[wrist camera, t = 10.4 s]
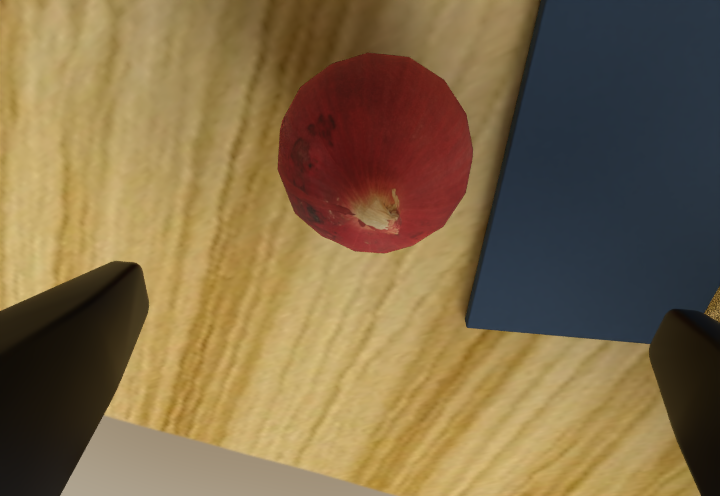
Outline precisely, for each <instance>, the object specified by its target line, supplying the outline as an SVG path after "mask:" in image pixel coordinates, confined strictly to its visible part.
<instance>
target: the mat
mask: <svg viewBox="0 0 720 496" xmlns="http://www.w3.org/2000/svg"><path fill="white" fill-rule="evenodd" d="M719 286H720V0H541V2H540V6H539V11H538V15H537V19H536V23H535V27H534V32H533V36H532V40H531V44H530V48H529V53H528V57H527V61H526V65H525V69H524V74H523V78H522V82H521V86H520V90H519V95H518V99H517V103H516V107H515V111H514V116H513V120H512V124H511V128H510V132H509V137H508V141H507V145H506V149H505V153H504V158H503V162H502V166H501V170H500V174H499V179H498V183H497V187H496V191H495V195H494V200H493V204H492V208H491V212H490V216H489V221H488V225H487V229H486V233H485V237H484V242H483V246H482V250H481V254H480V258H479V263H478V267H477V271H476V275H475V280H474V284H473V288H472V292H471V296H470V301H469V305H468V309H467V313H466V317H465V322H466V327H467V328H477V329H488V330H499V331H510V332H521V333H533V334H544V335H555V336H566V337H578V338H589V339H600V340H611V341H623V342H634V343H645V344H651V342H652V340H653V338H654V336H655V334H656V332H657V330H658V328H659V326H660V324H661V322H662V320H663V318H664V316H665V314H666V313H667V312H668V311H669V310H672V309H686V310H696V311H699V312H702V313H703V314H704V312H705V311H706V309H707V307H708V305H709V304H710V302H711V300H712V298H713V297H714V295H715V293H716V291H717V290H718V288H719Z"/></svg>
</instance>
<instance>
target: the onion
mask: <svg viewBox="0 0 720 496" xmlns="http://www.w3.org/2000/svg"><path fill="white" fill-rule="evenodd" d="M472 158H473V147H472V142H471V136H470V131H469V126H468V120H467V115H466V113H465V111H464V110H463V108H462V106H461V105H460V103H459V102H458V100H457V99H456V97H455V96H454V94H453V93H452V91H451V90H450V88H449V87H448V85H447V83H446V82H445V80H443V79H442V78H440V77H439V76H437V75H436V74H434V73H433V72H431V71H430V70H428V69H427V68H425V67H424V66H422V65H420V64H419V63H417V62H416V61H414V60H413V59H411V58H410V57H404V56H395V55H385V54H376V53H365V54H362V55H359V56H355V57H352V58H349V59H346V60H342V61H338V62H335V63H333V64H330V65H329V66H328V67H326V68H325V69H324V70H322V71H321V72H320V73H318V74H317V75H316V76H314V77H313V78H312V79H310V80H309V81H308V82H306V83H305V84H304V85H302V86H301V87H300V89H299V91H298V92H297V94H296V96H295V98H294V100H293V102H292V104H291V105H290V107H289V109H288V111H287V113H286V115H285V116H284V118H283V120H282V124H281V128H280V139H279V155H278V172H279V174H280V177H281V179H282V182H283V184H284V187H285V189H286V192H287V195H288V197H289V200H290V202H291V205H292V207H293V210H294V212H295V214H296V215H298V216H299V217H300V218H301V219H302V220H303V221H305V222H306V223H307V224H308V225H309V226H311V227H312V228H313V229H314V230H315V231H316V232H318V233H319V234H320V235H321V236H323V237H325V238H328V239H330V240H333V241H335V242H337V243H339V244H341V245H343V246H345V247H347V248H349V249H351V250H353V251H359V252H373V253H388V252H391V251H395V250H399V249H402V248H406V247H409V246H413V245H415V244H416V243H418V242H419V241H421V240H422V239H424V238H425V237H427V236H428V235H430V234H432V233H433V232H435V231H437V230H438V229H440V228H442V227H443V226H444V225H445V223H446V222H447V220H448V219H449V217H450V216H451V214H452V213H453V211H454V210H455V208H456V207H457V205H458V204H459V202H460V201H461V199H462V198H463V196H464V195H465V193H466V189H467V184H468V179H469V174H470V169H471V164H472Z"/></svg>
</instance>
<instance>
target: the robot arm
mask: <svg viewBox="0 0 720 496" xmlns="http://www.w3.org/2000/svg"><path fill="white" fill-rule="evenodd" d="M148 309H149V300H148V295H147V290H146V285H145V280H144V276H143V271H142V268H141V267H140V265H139V264H137V263H134V262H123V261H113V262H110V263H108V264H106V265H103V266H101V267H99V268H97V269H94V270H92V271H90V272H88V273H85V274H83V275H81V276H79V277H76V278H74V279H72V280H69V281H67V282H65V283H63V284H60V285H58V286H56V287H54V288H51V289H49V290H47V291H45V292H42V293H40V294H38V295H36V296H33V297H31V298H29V299H27V300H24V301H22V302H20V303H18V304H15V305H13V306H11V307H9V308H6V309H4V310H2V311H0V496H60V495H61V493H62V491H63V489H64V487H65V486H66V484H67V482H68V480H69V478H70V476H71V474H72V472H73V471H74V469H75V467H76V465H77V463H78V461H79V460H80V458H81V456H82V454H83V452H84V450H85V448H86V446H87V445H88V443H89V441H90V439H91V437H92V436H93V434H94V432H95V430H96V428H97V426H98V424H99V422H100V421H101V419H102V417H103V415H104V413H105V411H106V410H107V408H108V406H109V404H110V402H111V400H112V398H113V396H114V394H115V392H116V390H117V388H118V386H119V383H120V381H121V379H122V376H123V374H124V371H125V369H126V366H127V364H128V362H129V359H130V357H131V354H132V352H133V349H134V347H135V344H136V342H137V339H138V337H139V334H140V332H141V329H142V327H143V324H144V322H145V319H146V317H147V314H148ZM649 357H650V361H651V364H652V368H653V371H654V374H655V377H656V380H657V383H658V386H659V389H660V392H661V395H662V398H663V401H664V404H665V407H666V410H667V413H668V416H669V420H670V423H671V426H672V428H673V431H674V434H675V437H676V440H677V442H678V444H679V447H680V449H681V452H682V454H683V456H684V459H685V461H686V463H687V465H688V468H689V470H690V472H691V474H692V476H693V479H694V481H695V483H696V485H697V488H698V490H699V492H700V494H701V496H720V322H718V321H716V320H714V319H712V318H711V317H709V316H707V315H705V314H703V313H702V312H699V311H696V310H686V309H672V310H669V311H668V312H667V313H666V314H665V316H664V318H663V320H662V322H661V324H660V326H659V328H658V330H657V332H656V334H655V336H654V338H653V340H652V342H651V344H650V348H649Z"/></svg>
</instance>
